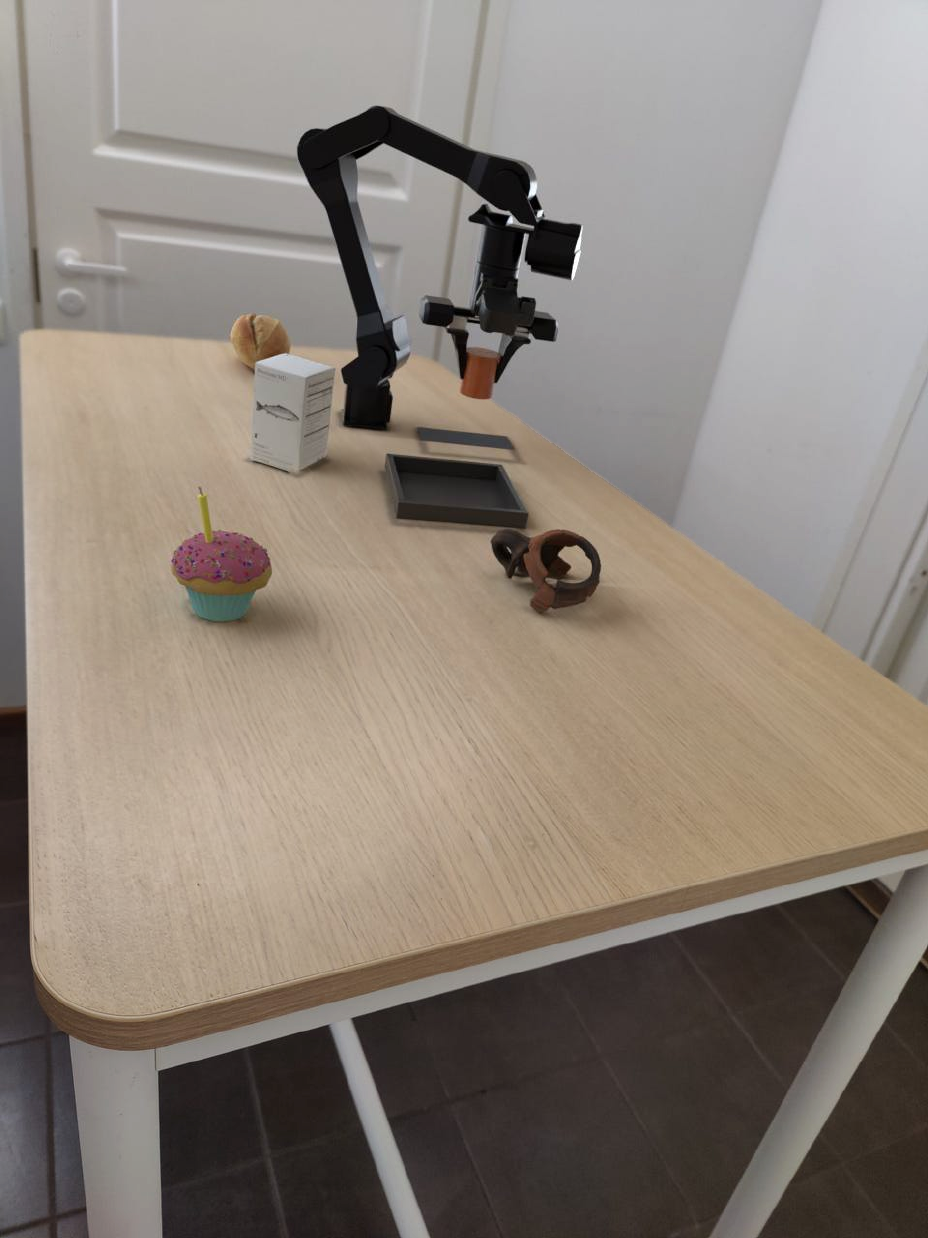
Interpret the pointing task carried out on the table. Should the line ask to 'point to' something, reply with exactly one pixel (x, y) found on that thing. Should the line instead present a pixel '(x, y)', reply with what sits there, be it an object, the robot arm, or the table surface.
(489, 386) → the orange cylinder
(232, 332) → the bread roll
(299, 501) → the table surface
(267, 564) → the cupcake
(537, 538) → the broken pottery
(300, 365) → the white packaging box
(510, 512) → the tray
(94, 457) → the table surface
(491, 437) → the mat
